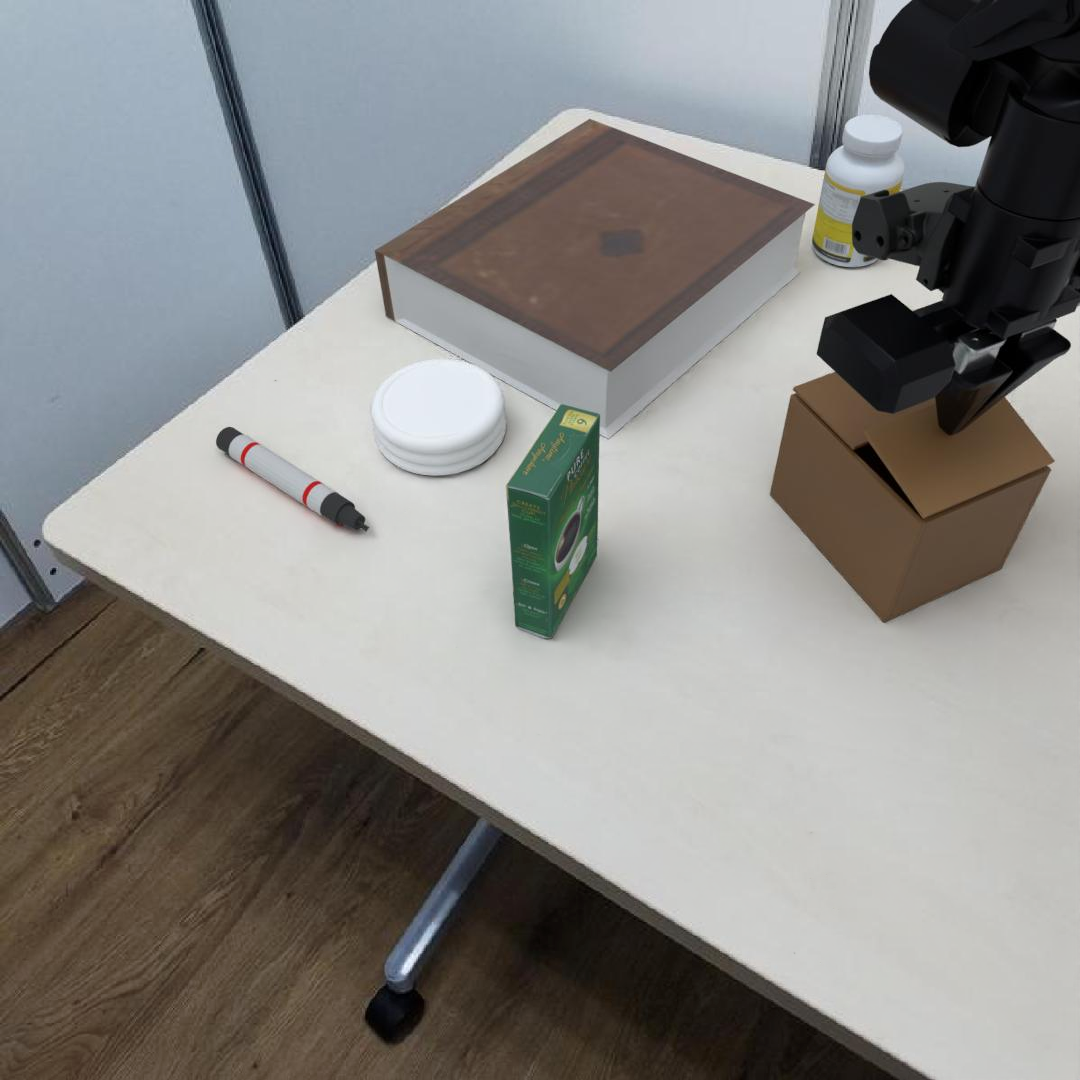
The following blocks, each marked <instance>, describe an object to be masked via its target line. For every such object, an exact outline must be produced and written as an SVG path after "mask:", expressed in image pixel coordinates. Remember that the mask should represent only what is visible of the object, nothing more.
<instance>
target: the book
mask: <svg viewBox="0 0 1080 1080" xmlns="http://www.w3.org/2000/svg"><path fill="white" fill-rule="evenodd" d="M815 205H816V203H813V202H810V201H808V200H804V199H802V198H799V197H798V196H795V195H792V194H789V193H786V192H785V191H781V190H779V189H775V188H773V187H771V186H768V185H765V184H763V183H761V182H757V181H755V180H752V179H750V178H748V177H744V176H743V175H739V174H736V173H734V172H731V171H729V170H726V169H724V168H721V167H717V166H715V165H712V164H711V163H707V162H706V161H705V162H704V161H702V160H699V159H697V158H694V157H692V156H689V155H686V154H683V153H682V152H678V151H675V150H674V149H671V148H669V147H666V146H663V145H660V144H657V143H655V142H652V141H650V140H647V139H644V138H642V137H639V136H636V135H634V134H631V133H628V132H626V131H623V130H621V129H618V128H615V127H613V126H610V125H607V124H606V123H602V122H600V121H597V120H594V119H592V118H588V119H587V120H585V121H583V122H582V123H580V124H578V125H577V126H576V127H574V128H572V129H571V130H569V131H567V132H565V133H563V135H561V136H559V137H557V138H556V139H553V140H552V141H551V142H549V143H548V144H546V145H544V146H543V147H541V148H539V149H538V150H536V151H535V152H533V153H531V154H530V155H528V156H526V157H525V158H523V159H522V160H520V161H519V162H517V163H515V164H513V165H512V166H510V167H508V168H507V169H505V170H503V171H502V172H500V173H499V174H497V175H495V176H494V177H492V178H490V179H489V180H487V181H485V182H484V183H482V184H481V185H479V186H477V187H476V188H474V189H472V190H470V192H468V193H466V194H465V195H462V196H461V197H459V198H458V199H456V200H454V201H453V202H451V203H449V204H448V205H446V206H445V207H443V208H442V209H440V210H438V211H437V212H435V213H433V214H431V215H430V216H428V217H426V218H425V219H424V220H422V221H420V222H419V223H417V224H415V225H413V226H412V227H410V228H409V229H407V230H406V231H404V232H402V233H400V234H399V235H397V236H396V237H394V238H393V239H391V240H389V241H387V242H386V243H384V244H383V245H381V246H379V247H378V248H376V249H375V250H374V254H375V260H376V267H377V272H378V277H379V282H380V290H381V295H382V300H383V301H382V302H383V307H384V312H385V317H387V318H389V319H390V320H392V321H394V322H396V323H398V324H399V325H402V326H403V327H405V328H406V329H408V330H409V331H412V332H414V333H415V334H418V335H419V336H421V337H423V338H425V339H426V340H428V341H430V342H432V343H434V344H436V345H437V346H440V347H441V348H443V349H445V350H446V351H448V352H449V353H452V354H454V355H455V356H457V357H459V358H461V359H462V360H464V361H465V362H467V363H470V364H473V365H476V366H478V367H480V368H482V369H484V370H485V371H487V372H488V373H490V374H491V375H492V376H493V377H494V378H496V379H498V380H501V381H503V382H504V383H506V384H508V385H509V386H512V387H513V388H515V389H517V390H519V391H520V392H522V393H524V394H526V395H528V396H529V397H531V398H533V399H535V400H537V401H539V402H540V403H542V404H544V405H546V406H548V407H549V408H551V409H553V410H555V411H556V410H557V409H558V407H559V406H560V405H561V404H563V405H567V406H572V407H575V408H579V409H582V410H586V411H590V412H594V413H598V414H600V434H599V436H602V437H603V438H605V439H607V440H609V439H610V438H612V437H613V436H614V435H615V434H616V433H617V432H618V431H620V430H621V429H622V428H623V427H624V426H625V425H626V424H628V423H629V422H630V421H632V420H633V418H635V416H637V415H638V414H639V413H640V412H642V410H644V409H645V408H646V407H647V406H648V405H649V404H651V403H652V402H653V401H654V400H655V399H657V398H658V397H659V396H660V395H661V394H662V393H663V392H665V391H666V390H667V389H668V388H669V387H671V385H673V383H675V382H676V381H677V380H678V379H679V378H681V377H682V376H683V375H685V374H686V372H687V371H688V370H690V369H691V368H692V367H694V365H696V364H697V363H698V362H699V361H700V360H701V359H702V358H704V356H706V355H708V353H709V352H710V351H712V350H713V349H714V348H715V347H717V345H718V344H720V343H721V342H722V341H723V340H725V338H727V337H728V336H729V335H730V334H731V333H732V332H734V331H735V330H736V329H737V328H738V327H739V326H741V324H743V323H744V322H745V321H746V320H747V319H748V318H750V317H751V316H752V315H753V314H754V313H755V312H757V311H758V310H759V309H760V308H761V307H763V306H764V305H765V304H766V303H767V302H768V301H770V300H771V298H772V297H774V296H775V295H776V294H778V292H779V291H781V290H782V289H783V288H784V287H785V286H787V285H788V284H789V283H790V282H792V280H793V279H795V277H797V276H798V275H799V274H800V273H802V272H803V270H802V269H800V268H799V267H798V266H796V263H797V259H798V254H799V248H800V243H801V238H802V232H803V228H804V223H805V217H806V214H807V212H808V211H809V210H811V209H812V208H813V207H814V206H815Z"/></svg>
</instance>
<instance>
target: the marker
mask: <svg viewBox="0 0 1080 1080" xmlns="http://www.w3.org/2000/svg"><path fill="white" fill-rule="evenodd" d="M215 444H216V447H217V448H218V449H219V450H220V451H222V452H223V453H225V454H226V455H228V456H230V458H232V459H233V460H235V462H238V463H239V464H240V465H242V466H244V467H245V468H247V469H249V470H251V471H252V472H253V473H254V474H256V475H258V476H260V477H261V478H263V479H264V480H265V481H267V482H268V483H270V484H272V485H273V486H275V487H276V488H277V489H279V490H281V491H282V492H283V493H286V494H287V495H289V496H290V497H292V498H293V499H295V500H296V501H298V502H299V503H301V504H303V505H304V506H306V507H307V508H309V509H310V510H312V511H313V512H315V513H316V514H318V515H319V516H321V517H323V518H325V519H327V520H328V521H330V522H331V523H333V524H334V525H336V526H338V527H344V526H345V527H347V528H349V529H351V530H353V531H359V530H363V531H364V532H367V531H368V530H369V529H370V526H368V525H367V524H366V517H365V516H364V515H363V514H362V513H361V512H360V511H359V510H357V509H356V506H355V504H354V503H353V501H351V500H350V499H348V498H347V497H344V496H343V495H341V494H340V493H339V492H338V491H336V490H335V489H333V488H331V486H328V485H327V484H325V483H323V482H322V481H320V480H318V479H317V478H315V477H314V476H312V475H311V474H309V473H307V472H306V471H304V470H303V469H301V468H300V467H298V466H296V465H294V464H293V463H291V462H290V461H288V460H286V459H285V458H283V457H282V456H280V455H279V454H277V453H276V452H274V451H272V450H271V449H269V448H267V447H266V446H265V445H263V444H261V443H260V442H258V441H256V440H254V439H253V438H251V436H248V435H247V434H244V433H243V432H241V431H240V430H238V429H237V428H235V427H233V426H226V427H224V428H223V429H221V430H220V431H219V432H218V434H217V435H216V439H215Z"/></svg>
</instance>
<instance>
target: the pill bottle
mask: <svg viewBox="0 0 1080 1080" xmlns="http://www.w3.org/2000/svg"><path fill="white" fill-rule="evenodd" d="M903 133H904V129H903V126H902V125H901V124H900V123H899V122H897V121H896V120H895V119H892V118H891V117H887V116H884V115H877V114H862V115H857V116H854V117H852V118H850V119H849V120H847V122H846V123H845V125H844V128H843V133H842V137H841V142H842V145H840V146H839V147H837V148H836V149H835V150H834V151H833V152H832V153H830V155H829V156H828V159H827V161H826V165H825V170H824V175H823V179H822V185H821V191H820V195H819V201H818V207H817V212H816V216H815V222H814V227H813V233H812V237H811V238H812V239H811V242H812V243H811V245H812V249H813V250H814V252H815V254H816V255H817V256H818V257H820V258H821V260H824V261H825V262H827V263H829V264H833V265H835V266H839V267H846V268H859V267H864V266H869V265H871V264H873V263H875V262H876V261H879V259H877V258H874V257H870V256H866V255H862V254H859V253H858V252H857V251H856V250H855V248H854V246H853V244H852V222H853V219H854V216H855V213H856V210H857V207H858V204H859V201H860V198H861V197H862V196H865V195H868V194H872V193H875V192H878V191H881V190H888V191H889V195H890V194H894V193H897V192H900V191H901V187H902V184H903V179H904V175H905V171H906V170H905V162H904V160H903V157H902V156H901V155H900V153H898V152H897V151H898V150H899V149H900V146H901V143H902V137H903Z"/></svg>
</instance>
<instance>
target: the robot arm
mask: <svg viewBox="0 0 1080 1080" xmlns="http://www.w3.org/2000/svg"><path fill="white" fill-rule="evenodd" d="M868 78H869V85H870V87H871V89H872V92H873V94H874V95H875V96H876V97H877V98H878V99H879V100H881V101H882V102H884V103H886V104H887V105H889V106H890V107H892V108H893V109H895V111H898V112H899V113H901V114H902V115H904V116H905V117H907V118H909V119H910V120H912V121H913V122H915V123H917V124H918V125H920V126H921V127H923V128H924V129H925V130H927V131H928V132H931V133H932V134H933V135H935V136H937V137H938V138H940V139H941V140H943V141H944V142H946V143H947V144H949V145H951V146H954V147H957V148H969V147H973V146H975V145H976V146H977V145H978V144H980V143H982V142H984V141H985V140H988V139H989V138H990V140H989V143H988V146H987V149H986V152H985V155H984V158H983V161H982V164H981V167H980V170H979V174H978V176H977V179H976V182H975V185H974V186H973V185H967V184H960V183H953V182H948V181H947V182H946V181H934V182H933V181H932V182H926V183H923V184H919V185H916V186H913V187H910V188H906V189H903V190H900V192H897V193H894V194H890V195H889V191H888V190H881V191H878V192H875V193H872V194H868V195H865V196H862V197H861V198H860V201H859V204H858V207H857V210H856V213H855V216H854V219H853V222H852V244H853V246H854V248H855V250H856V251H857V252H858V253H859V254H862V255H866V256H870V257H874V258H877V259H878V261H879V260H880V261H884V262H885V261H888V260H892V261H896V262H899V263H904V264H908V265H911V266H916V267H918V272H917V274H916V278H915V281H916V282H918V283H919V284H921V285H922V286H923V287H924V288H926V289H927V290H929V292H933V291H936V290H938V291H939V292H941V293H942V298H941V300H939V301H936V302H934V303H931V304H928V305H925V306H922V307H920V308H916V309H914V310H912V309H911V308H910V307H909V306H907V305H906V304H905V303H903V302H902V301H901V300H900V299H898V298H897V297H896V296H895V295H894V294H892V293H890V294H887V295H885V296H882V297H879V298H875V299H873V300H870V301H868V302H865V303H862V304H859V305H856V306H853V307H851V308H847V309H845V310H842V311H839V312H836V313H833V314H829V315H828V316H825V317H824V320H823V323H822V328H821V331H820V336H819V341H818V345H817V350H816V356H817V357H819V358H820V360H821V361H823V362H824V363H825V364H826V365H827V366H828V367H829V368H830V369H832V370H833V372H836V373H837V374H838V375H839V376H840V377H841V378H842V379H843V380H845V381H846V382H847V383H848V384H849V385H850V386H851V387H852V388H853V389H854V390H855V391H856V392H857V393H859V394H860V395H861V396H862V397H863V398H864V399H865V400H866V401H867V402H868V403H869V404H870V405H871V406H872V407H874V408H875V409H876V410H877V411H881V412H886V413H891V414H894V413H897V412H899V411H902V410H904V409H907V408H909V407H912V406H915V405H917V404H920V403H922V402H925V401H927V400H930V399H933V398H934V397H935V401H936V409H937V418H938V425H939V427H940V428H941V429H942V430H943V431H944V432H946V433H947V434H948V435H950V436H951V435H954V434H956V433H959V432H961V431H962V430H964V429H965V428H966V427H967V426H969V425H970V424H971V423H972V422H974V421H975V420H976V419H977V418H979V417H980V416H981V415H983V414H984V413H985V412H986V411H988V410H989V409H990V408H991V407H993V406H994V405H995V404H996V403H998V402H999V401H1000V400H1001V399H1003V398H1004V397H1005V398H1006V397H1007V396H1008V395H1009V394H1011V393H1012V392H1014V391H1015V390H1016V389H1018V388H1019V387H1020V386H1021V385H1023V384H1024V383H1025V382H1026V381H1028V380H1030V378H1032V377H1033V376H1035V375H1036V374H1037V373H1039V372H1040V371H1041V370H1043V369H1045V367H1047V366H1049V364H1050V363H1052V362H1053V361H1055V360H1056V359H1058V358H1060V357H1062V356H1064V355H1066V354H1067V353H1068V352H1069V351H1070V349H1071V347H1072V343H1071V341H1070V340H1069V339H1068V338H1066V337H1065V336H1064V335H1062V333H1059V331H1057V330H1056V329H1054V328H1055V326H1056V324H1057V321H1058V319H1059V318H1062V317H1064V316H1068V315H1070V314H1073V313H1075V312H1076V310H1077V308H1078V307H1080V0H910V1H908V2H907V4H905V5H904V6H903V7H902V8H901V9H900V10H899V11H898V12H897V14H896V15H895V16H894V17H893V18H892V20H891V21H890V22H889V23H888V26H887V27H886V29H885V30H884V31H883V33H882V36H881V37H880V40H879V42H878V43H877V44H876V45H875V46H873V49H872V52H871V55H870V59H869V66H868Z"/></svg>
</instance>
